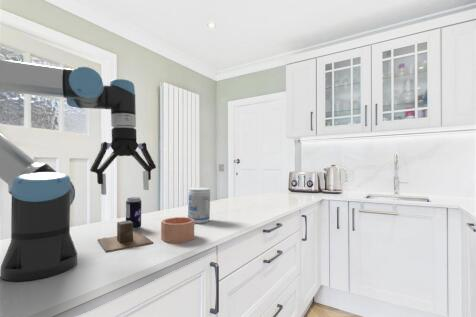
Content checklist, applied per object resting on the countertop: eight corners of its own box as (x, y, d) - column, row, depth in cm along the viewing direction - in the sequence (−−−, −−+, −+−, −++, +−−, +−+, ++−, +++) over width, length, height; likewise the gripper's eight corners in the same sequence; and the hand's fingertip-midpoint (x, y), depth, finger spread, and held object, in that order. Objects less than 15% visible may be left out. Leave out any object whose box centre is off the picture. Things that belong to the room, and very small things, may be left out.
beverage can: (135, 230, 100) (136, 199, 100) (122, 229, 101) (122, 198, 101) (143, 227, 105) (144, 197, 105) (131, 226, 106) (131, 196, 106)
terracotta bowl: (169, 244, 83) (169, 226, 83) (156, 236, 92) (157, 219, 92) (199, 238, 90) (199, 221, 90) (185, 231, 98) (185, 216, 99)
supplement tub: (183, 222, 114) (183, 188, 114) (196, 218, 122) (196, 186, 123) (201, 224, 110) (202, 189, 110) (214, 220, 118) (214, 187, 118)
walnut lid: (105, 254, 76) (105, 230, 76) (97, 242, 87) (97, 221, 87) (153, 245, 85) (153, 223, 85) (140, 235, 96) (140, 216, 96)
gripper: (83, 124, 75) (86, 197, 75) (164, 128, 92) (166, 188, 92) (78, 127, 81) (80, 195, 81) (155, 130, 97) (156, 187, 98)
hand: (126, 192), depth 86 cm, fingers open, 13 cm apart
